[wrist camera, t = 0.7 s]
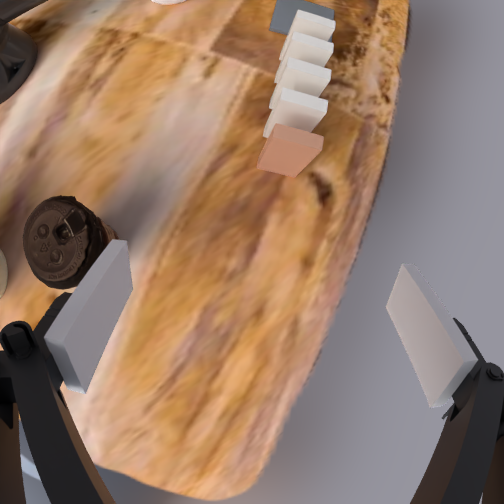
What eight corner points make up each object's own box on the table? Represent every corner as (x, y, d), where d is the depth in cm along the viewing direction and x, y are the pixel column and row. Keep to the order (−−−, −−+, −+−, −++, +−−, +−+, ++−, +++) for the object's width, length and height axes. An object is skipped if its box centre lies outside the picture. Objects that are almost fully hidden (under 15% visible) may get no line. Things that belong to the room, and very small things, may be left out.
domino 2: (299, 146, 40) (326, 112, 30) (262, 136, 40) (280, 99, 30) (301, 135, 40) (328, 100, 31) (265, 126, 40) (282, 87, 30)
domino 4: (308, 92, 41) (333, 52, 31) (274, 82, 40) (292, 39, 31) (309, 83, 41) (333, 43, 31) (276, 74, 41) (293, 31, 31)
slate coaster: (329, 48, 42) (331, 46, 42) (268, 30, 41) (269, 28, 40) (333, 12, 43) (334, 10, 42) (278, -5, 42) (278, -7, 41)
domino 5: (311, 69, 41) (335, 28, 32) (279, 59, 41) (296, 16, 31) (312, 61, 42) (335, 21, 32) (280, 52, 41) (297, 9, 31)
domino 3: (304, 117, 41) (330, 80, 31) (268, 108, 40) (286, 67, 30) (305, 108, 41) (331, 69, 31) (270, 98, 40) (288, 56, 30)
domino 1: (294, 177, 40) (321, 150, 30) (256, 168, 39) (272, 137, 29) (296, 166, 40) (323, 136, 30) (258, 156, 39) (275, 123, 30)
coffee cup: (136, 218, 37) (105, 193, 24) (130, 287, 36) (95, 296, 23) (72, 214, 36) (21, 191, 23) (66, 280, 35) (12, 284, 22)
